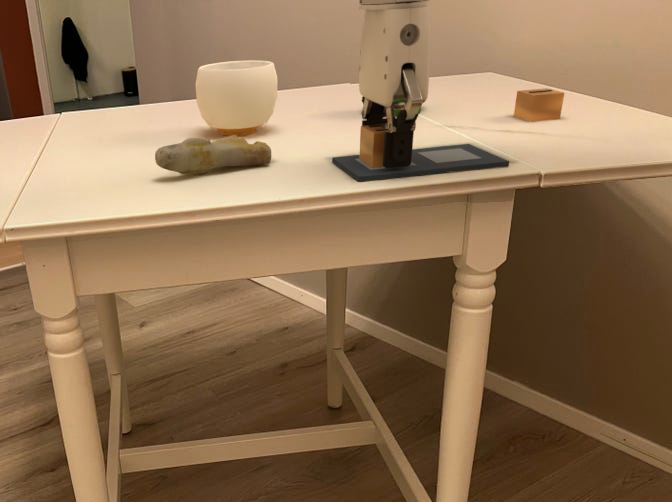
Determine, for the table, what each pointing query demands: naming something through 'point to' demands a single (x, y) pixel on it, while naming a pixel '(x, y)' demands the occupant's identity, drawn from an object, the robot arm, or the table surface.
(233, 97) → the cup
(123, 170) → the table surface
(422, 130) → the table surface
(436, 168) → the word mat
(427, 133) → the table surface
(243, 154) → the figurine
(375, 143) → the tile
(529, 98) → the tile
